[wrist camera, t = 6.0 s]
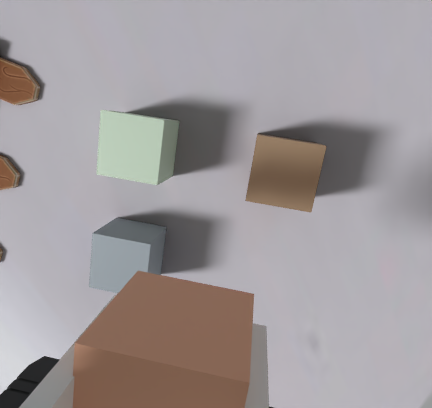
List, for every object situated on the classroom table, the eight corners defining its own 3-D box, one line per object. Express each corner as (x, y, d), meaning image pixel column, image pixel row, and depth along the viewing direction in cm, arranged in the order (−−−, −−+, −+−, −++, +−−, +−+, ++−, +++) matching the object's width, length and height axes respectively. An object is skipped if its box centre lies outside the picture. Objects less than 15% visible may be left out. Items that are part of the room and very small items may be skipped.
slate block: (117, 217, 33) (92, 233, 28) (166, 226, 32) (150, 244, 27) (113, 264, 34) (89, 287, 29) (161, 273, 34) (144, 298, 29)
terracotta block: (137, 270, 14) (74, 343, 9) (254, 293, 14) (249, 382, 9) (127, 369, 16) (66, 478, 11) (234, 393, 15) (221, 520, 10)
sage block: (126, 112, 30) (100, 109, 25) (179, 120, 30) (164, 120, 25) (121, 166, 32) (96, 174, 27) (173, 175, 31) (157, 185, 26)
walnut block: (257, 133, 29) (257, 134, 24) (315, 142, 29) (326, 145, 24) (247, 188, 30) (245, 200, 26) (302, 198, 30) (311, 212, 25)
